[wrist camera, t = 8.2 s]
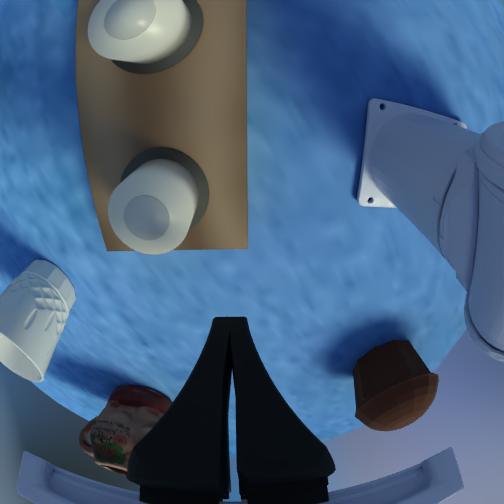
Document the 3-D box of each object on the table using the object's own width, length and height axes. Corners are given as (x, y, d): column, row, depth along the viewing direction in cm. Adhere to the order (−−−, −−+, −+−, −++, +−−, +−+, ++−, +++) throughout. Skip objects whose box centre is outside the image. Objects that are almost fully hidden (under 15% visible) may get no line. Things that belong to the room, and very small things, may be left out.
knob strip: (246, -102, 5) (247, -123, 2) (247, 226, 20) (248, 250, 18) (114, -80, 5) (99, -94, 2) (121, 230, 20) (106, 252, 17)
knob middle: (192, -12, 9) (179, -33, 6) (191, 57, 11) (177, 49, 8) (115, 5, 9) (88, -8, 6) (114, 71, 11) (85, 70, 8)
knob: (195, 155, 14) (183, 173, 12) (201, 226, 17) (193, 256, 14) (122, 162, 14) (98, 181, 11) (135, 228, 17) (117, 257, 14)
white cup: (15, 259, 21) (-33, 322, 13) (57, 248, 21) (1, 324, 12) (48, 312, 26) (14, 376, 17) (93, 309, 25) (58, 387, 17)
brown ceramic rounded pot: (115, 411, 41) (102, 473, 30) (73, 378, 35) (51, 448, 23) (208, 412, 39) (204, 490, 27) (172, 376, 32) (158, 475, 20)
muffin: (388, 381, 36) (405, 434, 28) (329, 383, 34) (343, 446, 26) (435, 332, 30) (464, 391, 21) (376, 328, 28) (405, 404, 19)
